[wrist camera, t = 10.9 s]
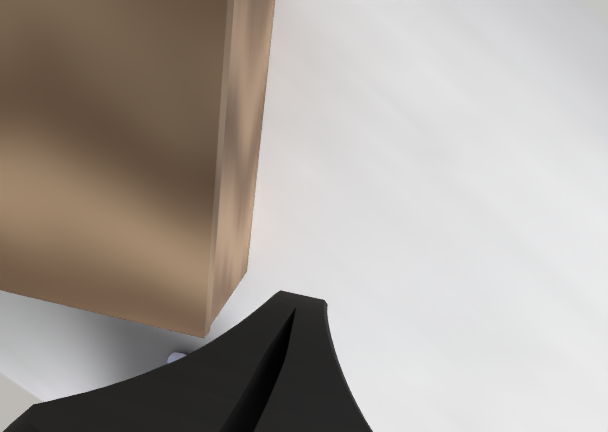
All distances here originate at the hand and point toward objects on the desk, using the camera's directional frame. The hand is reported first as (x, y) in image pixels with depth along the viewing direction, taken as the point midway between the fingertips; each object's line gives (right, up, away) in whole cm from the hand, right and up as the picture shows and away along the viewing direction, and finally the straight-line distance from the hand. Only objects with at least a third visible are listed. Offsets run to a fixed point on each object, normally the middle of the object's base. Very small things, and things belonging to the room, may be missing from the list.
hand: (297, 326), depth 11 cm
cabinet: (-7, +7, +9) cm, 13 cm away
